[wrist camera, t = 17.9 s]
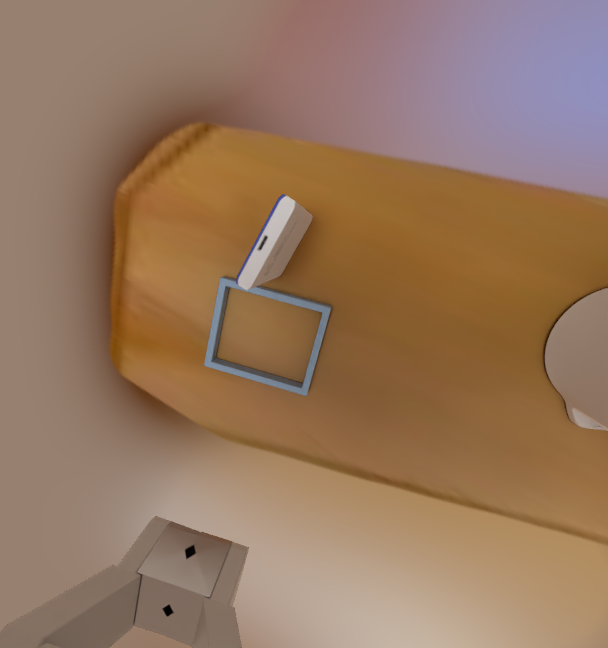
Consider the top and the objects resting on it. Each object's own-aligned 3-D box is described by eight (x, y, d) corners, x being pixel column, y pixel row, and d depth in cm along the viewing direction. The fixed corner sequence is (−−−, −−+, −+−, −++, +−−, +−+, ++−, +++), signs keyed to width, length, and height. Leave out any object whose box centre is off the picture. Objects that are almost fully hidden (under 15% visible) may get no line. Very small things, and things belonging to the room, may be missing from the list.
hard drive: (268, 271, 39) (233, 282, 27) (302, 209, 37) (280, 191, 25) (279, 278, 39) (249, 292, 27) (314, 216, 37) (298, 202, 25)
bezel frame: (331, 305, 39) (331, 308, 38) (308, 391, 42) (306, 396, 41) (225, 276, 40) (220, 277, 38) (209, 361, 43) (204, 365, 41)
